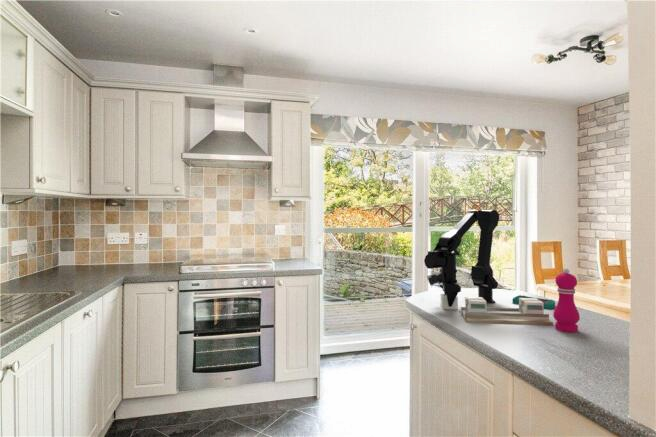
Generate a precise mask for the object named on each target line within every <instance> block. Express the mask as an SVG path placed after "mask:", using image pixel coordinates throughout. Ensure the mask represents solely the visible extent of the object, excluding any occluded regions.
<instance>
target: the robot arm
mask: <svg viewBox="0 0 656 437" xmlns="http://www.w3.org/2000/svg"><path fill="white" fill-rule="evenodd" d="M499 221H500V213H499V212H498V210H496V209H482V210H479V209H469V210H468V211H467V212H466V214H465V215H464V216H463V218H461V219H460V221H459V222H457V224H456V225H455V226H454V227H453V228H451V230H449V231H447V232H445V233H443V234H442V235H441V236H440V237H439V238H438V242H437V243H436V245H435V247H434V249H433V251H431V250H429V251H427V254H426V255H425V258H424V259H423V260H424V265H425V267H426V268H427V269H431V270H432V269H438V268H439V271H438V272H435V273H431V274H429V275H427V276H426V278H427V280H428V283H429V285H430V286H433V285H435V284H437V283H438V285H439V287H440V288H441V289H442V292H443V294H446V295H447V300H448V305H449V307H452V305H453V302H454V300H455V298H456V296H457V297H458V294H459V293H461V292H462V287H461V285H460V284H459V283H458V279H457V273H458V270H457V256H460V255H461V253H460V252H459V251H458V250H457V249H458V248H459V247H460V245H461V244H462V238H463V237H464V235H465V234H467V232H468V231H469V230H470V228H472V227H473V226H474V225H475V223H476V222H477V225H478V226H479V229H480V233H479V243H478V244H479V245H478V250H477V251H478V252H477V261H476V263H475V265H472V266H471V268H470V270H471V271H470V274H469V275H470V278H471V280H472V283H473V284H472V285H473V286H474V287H477V288H478V289H477V291H478V294H477V297H482V298H483V299H484V300H486V304H488V303H489V304H490V303H492V304H493V303H496V301H495V300H494V298H493V294H494V292H493V291H494V290H495V289H497V288H498V285H499V282H498V281H497V280H496V278H495V277H494V271H493V269H492V266H491V256H492V255H491V254H492V244H493V236H494V235H493V234H494V231H495V229H496V228H497V227H498V224H499Z"/></svg>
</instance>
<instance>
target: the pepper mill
mask: <svg viewBox="0 0 656 437" xmlns="http://www.w3.org/2000/svg"><path fill="white" fill-rule="evenodd" d="M554 282H555V284H556V286H557V287H556V289H557V290H556V292H557V293H558V301H557V302H556V305H555V307H554V308H553V310H554V311H553V318H554V320H555V321H556V322H555V323H554V327H555V329H556V331H560V332H563V333H564V332H565V333H577V332H579V326H578V324H577V323H578V322H579V321H580V320H581V319H580V318H581V317H580V312H579V310H578V309H577V306H576V304H575V296H574V295H575V294H576V288H575V287H576V286H578V280H577V277H576V276H575V275H574V274H572V273H570V270H569V269H568V268H563V270H562V273H559V274H558V275H557V276H555V281H554Z"/></svg>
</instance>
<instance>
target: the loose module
mask: <svg viewBox="0 0 656 437" xmlns="http://www.w3.org/2000/svg"><path fill="white" fill-rule="evenodd" d="M439 295H440V307H441V309H442V310H458V309H459V300H458V299H459V298H458V295H457V296H456V298H455V300H454V302H453V305H452V307H449V305H448V300H447V295H446V294H444V293H440V294H439Z"/></svg>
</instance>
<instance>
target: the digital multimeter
mask: <svg viewBox="0 0 656 437" xmlns="http://www.w3.org/2000/svg"><path fill="white" fill-rule="evenodd" d="M519 298H534V296H533V297H532V296H526V295H521V294H520V295H517V296H515V297H512V304H515V305H519ZM536 298H537V299H538V300H540V301H542V302H543V303H544V309H545V308H546V309H547V310H552V309H555V307H556V301H555V300H554V299H546V298H545V299H544V298H538V297H536ZM551 308H552V309H551Z"/></svg>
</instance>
